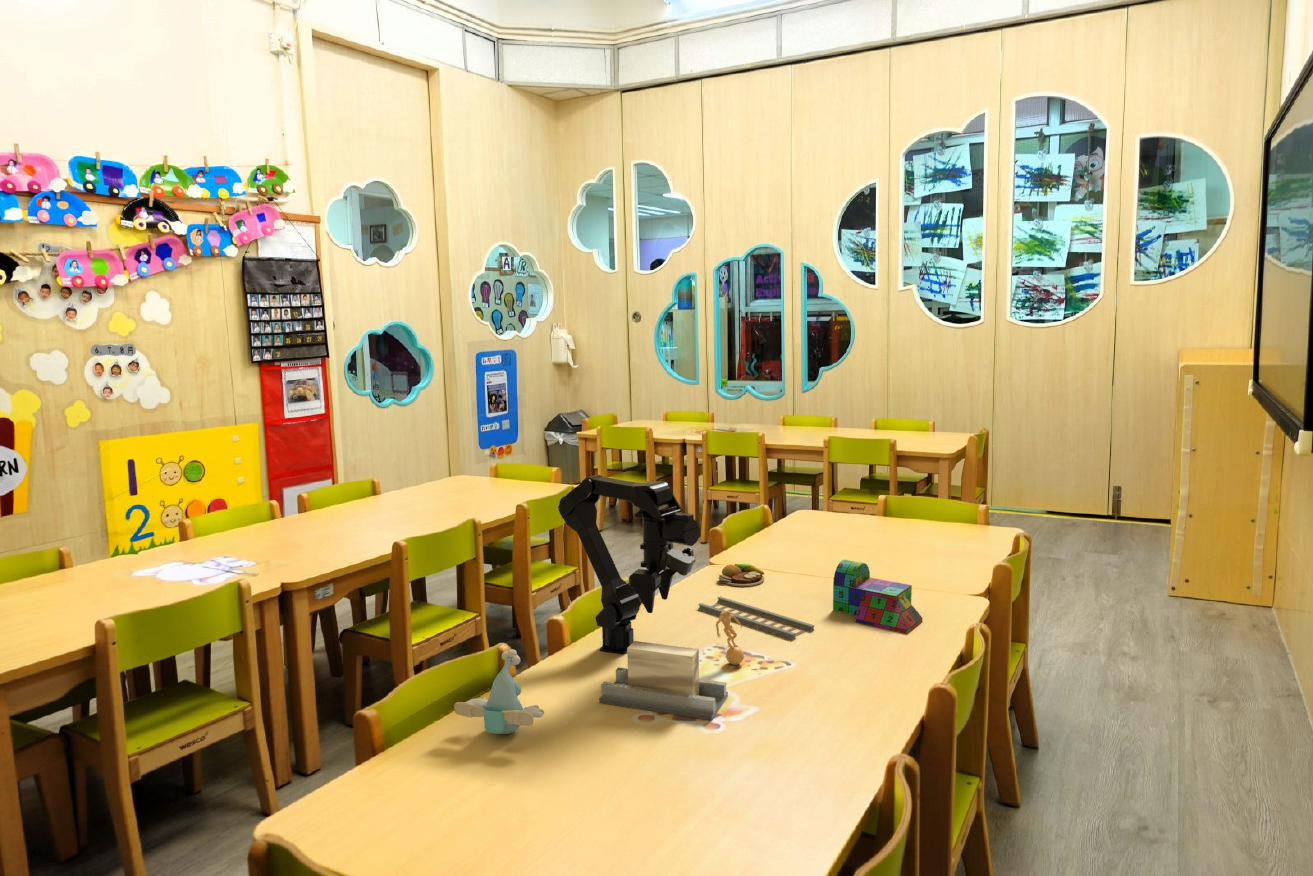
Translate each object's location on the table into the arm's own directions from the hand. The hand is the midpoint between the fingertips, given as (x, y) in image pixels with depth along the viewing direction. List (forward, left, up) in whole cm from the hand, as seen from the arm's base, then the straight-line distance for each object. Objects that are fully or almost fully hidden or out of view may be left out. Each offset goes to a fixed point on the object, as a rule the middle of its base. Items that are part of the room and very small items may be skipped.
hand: (657, 605), depth 194 cm
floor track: (+8, -18, -13) cm, 24 cm away
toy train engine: (+43, +44, -14) cm, 63 cm away
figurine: (+16, +4, -13) cm, 21 cm away
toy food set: (+2, +62, -14) cm, 63 cm away
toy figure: (-16, -40, -13) cm, 45 cm away
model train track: (+14, +32, -14) cm, 38 cm away
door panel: (+8, -18, -12) cm, 23 cm away
